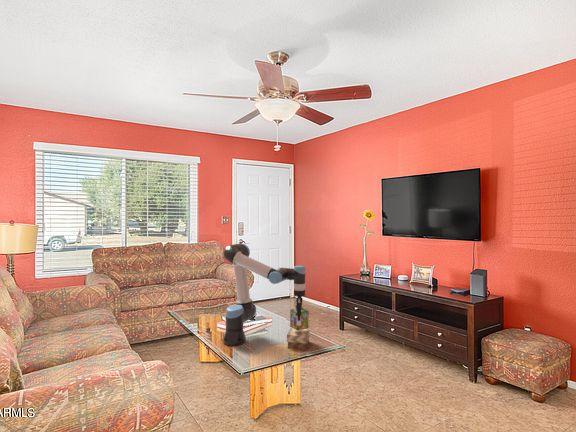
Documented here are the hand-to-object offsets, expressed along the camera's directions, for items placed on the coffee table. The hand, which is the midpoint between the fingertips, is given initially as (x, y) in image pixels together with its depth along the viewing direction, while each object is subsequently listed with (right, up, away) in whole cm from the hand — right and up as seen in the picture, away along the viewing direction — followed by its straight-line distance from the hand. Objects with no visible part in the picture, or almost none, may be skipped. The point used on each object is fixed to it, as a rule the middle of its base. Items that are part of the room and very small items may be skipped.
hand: (299, 322), depth 232 cm
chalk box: (0, -4, 0) cm, 4 cm away
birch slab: (-1, -11, 0) cm, 11 cm away
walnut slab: (0, -15, 0) cm, 15 cm away
